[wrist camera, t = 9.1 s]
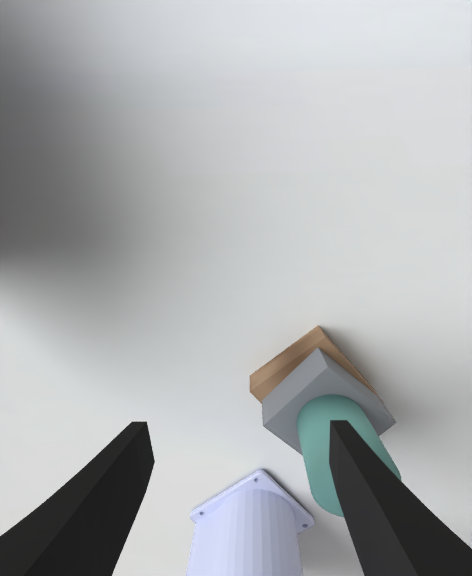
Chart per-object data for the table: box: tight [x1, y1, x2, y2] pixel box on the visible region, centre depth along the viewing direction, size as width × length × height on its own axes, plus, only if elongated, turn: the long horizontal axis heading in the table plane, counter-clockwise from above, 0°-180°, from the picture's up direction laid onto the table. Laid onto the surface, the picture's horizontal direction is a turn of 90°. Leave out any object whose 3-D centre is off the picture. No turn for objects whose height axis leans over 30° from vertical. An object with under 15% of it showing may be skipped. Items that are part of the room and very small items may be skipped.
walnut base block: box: [250, 326, 383, 404], centre depth 20 cm, size 7×7×2 cm
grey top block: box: [262, 347, 396, 455], centre depth 18 cm, size 6×6×2 cm
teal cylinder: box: [296, 394, 401, 517], centre depth 15 cm, size 4×4×4 cm
